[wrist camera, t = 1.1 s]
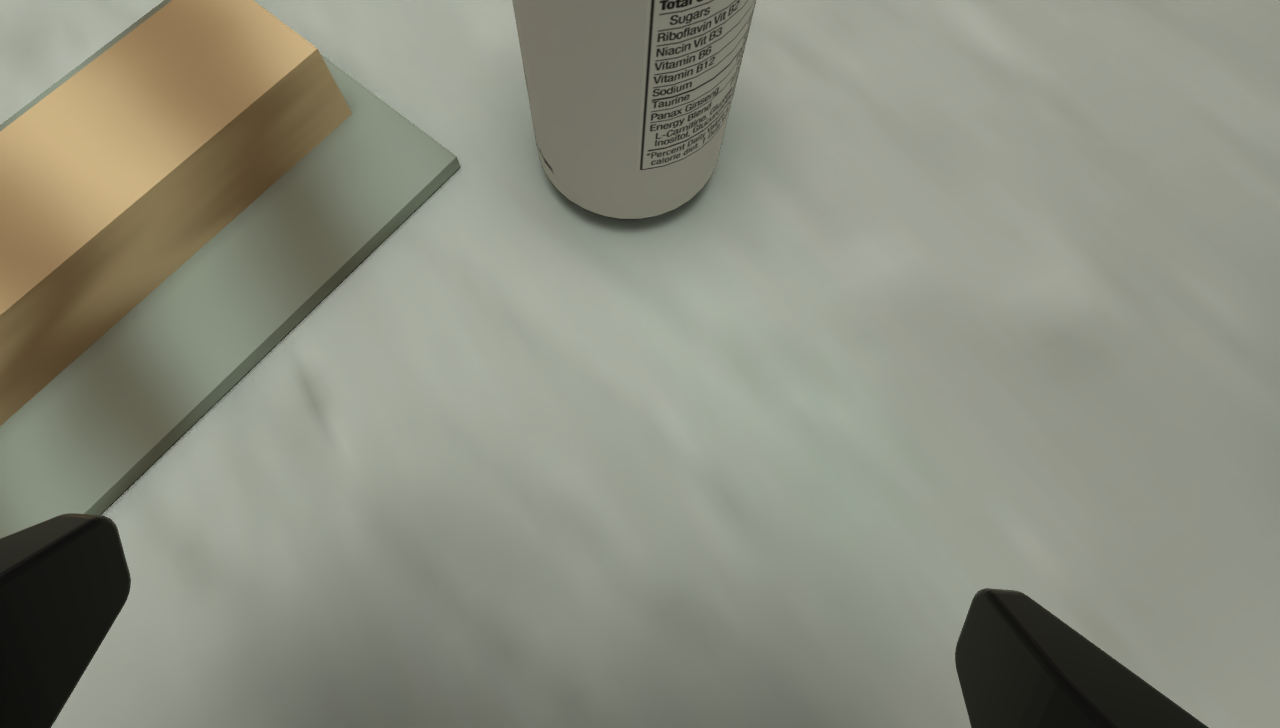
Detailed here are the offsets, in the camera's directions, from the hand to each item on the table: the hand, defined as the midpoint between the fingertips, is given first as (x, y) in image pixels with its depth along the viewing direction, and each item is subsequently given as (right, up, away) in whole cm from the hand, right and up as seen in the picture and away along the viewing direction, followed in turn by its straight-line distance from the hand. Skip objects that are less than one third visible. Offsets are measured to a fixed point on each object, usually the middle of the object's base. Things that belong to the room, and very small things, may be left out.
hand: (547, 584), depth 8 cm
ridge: (-17, +4, +15) cm, 23 cm away
